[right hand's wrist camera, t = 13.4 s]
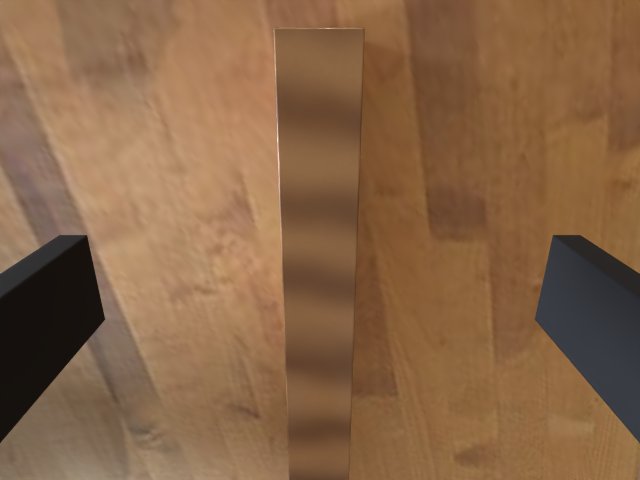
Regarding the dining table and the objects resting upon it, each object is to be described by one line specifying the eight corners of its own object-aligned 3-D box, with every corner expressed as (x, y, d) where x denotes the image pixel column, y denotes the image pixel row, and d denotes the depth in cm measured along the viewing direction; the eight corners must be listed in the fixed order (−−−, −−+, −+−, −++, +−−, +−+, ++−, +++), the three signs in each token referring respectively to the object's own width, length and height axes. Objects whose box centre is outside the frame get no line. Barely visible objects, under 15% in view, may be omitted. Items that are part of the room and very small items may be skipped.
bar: (284, 36, 33) (273, 27, 25) (354, 36, 33) (364, 27, 25) (299, 614, 59) (296, 694, 52) (338, 614, 59) (341, 694, 52)
